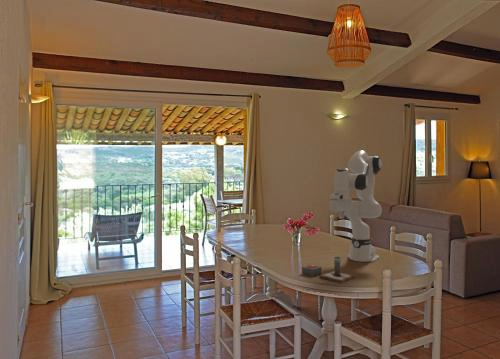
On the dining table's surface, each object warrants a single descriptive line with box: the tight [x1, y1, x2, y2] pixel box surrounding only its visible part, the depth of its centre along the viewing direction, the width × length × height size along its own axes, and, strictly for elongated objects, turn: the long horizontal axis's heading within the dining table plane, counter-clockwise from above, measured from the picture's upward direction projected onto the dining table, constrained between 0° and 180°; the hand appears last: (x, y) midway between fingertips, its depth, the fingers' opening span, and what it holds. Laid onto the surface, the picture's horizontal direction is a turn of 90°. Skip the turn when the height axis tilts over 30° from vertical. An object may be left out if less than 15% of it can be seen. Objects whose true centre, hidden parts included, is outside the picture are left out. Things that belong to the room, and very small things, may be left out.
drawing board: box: [318, 270, 355, 284], centre depth 241 cm, size 14×14×2 cm
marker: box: [333, 256, 342, 276], centre depth 240 cm, size 3×3×10 cm
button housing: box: [301, 264, 322, 277], centre depth 248 cm, size 8×8×4 cm
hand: (341, 218), depth 257 cm, fingers closed
